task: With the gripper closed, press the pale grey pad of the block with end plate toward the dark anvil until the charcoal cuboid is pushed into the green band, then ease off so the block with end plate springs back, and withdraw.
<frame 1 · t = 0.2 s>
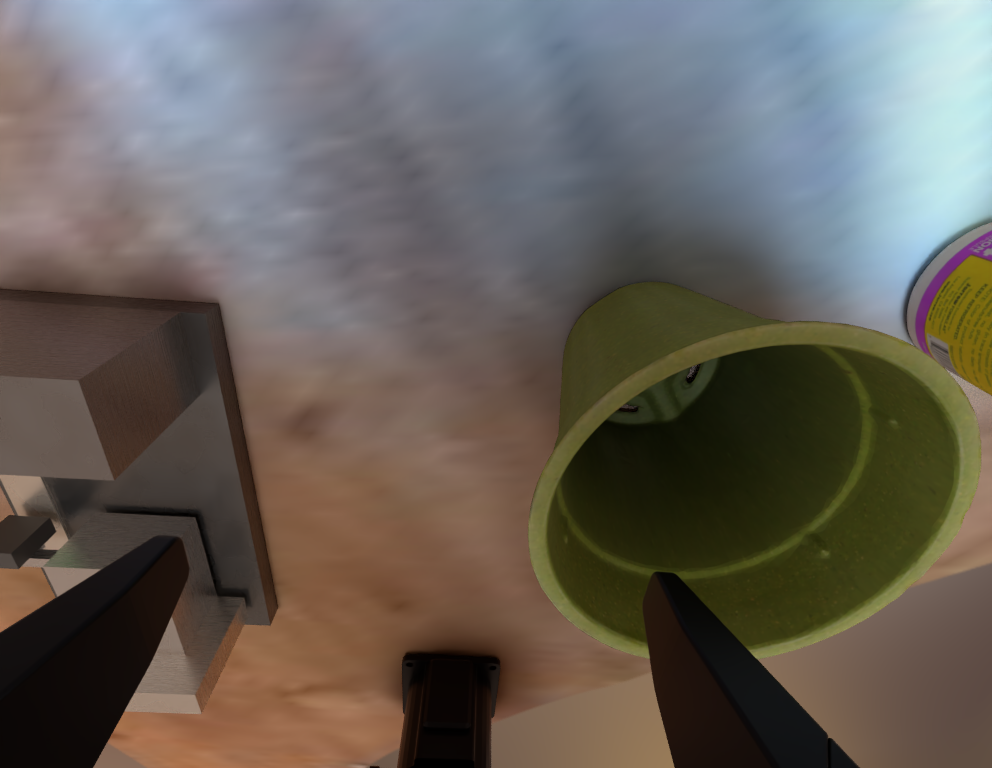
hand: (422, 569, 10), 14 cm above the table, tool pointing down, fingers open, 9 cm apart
supplement bottle: (974, 288, 23), on the table
plant pot: (640, 350, 24), on the table
charcoal cuboid: (13, 541, 25), point 3 cm above the table, slide at 0.0 cm
block with end plate: (112, 609, 26), point 4 cm above the table, slide at 0.0 cm
gauge bench: (137, 476, 27), on the table
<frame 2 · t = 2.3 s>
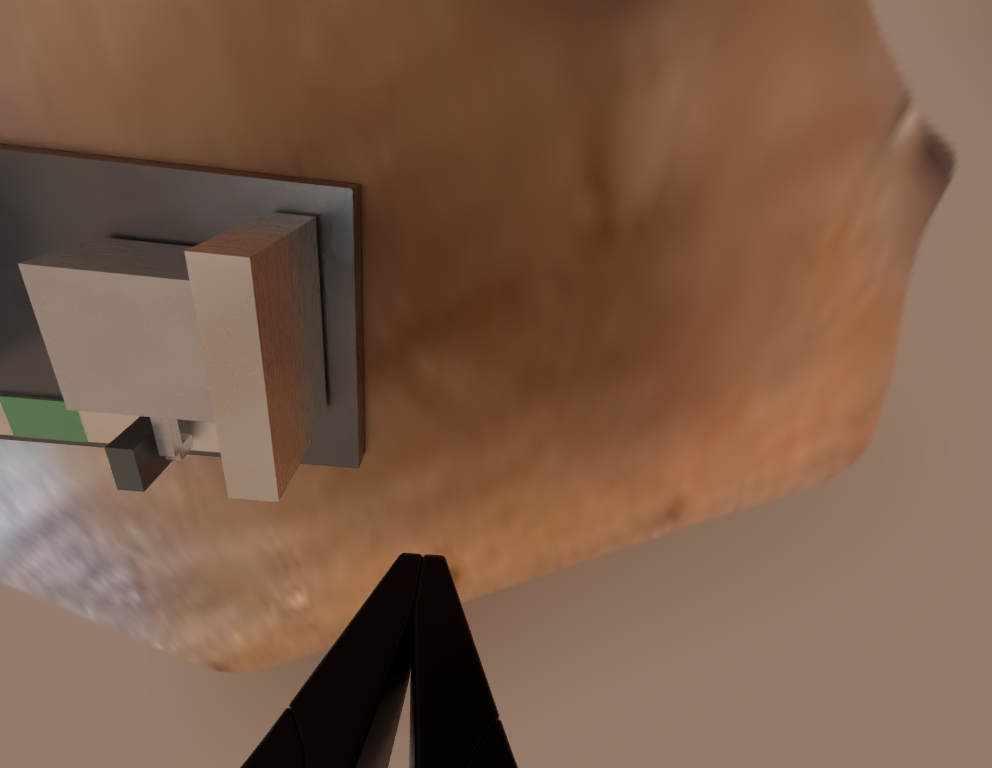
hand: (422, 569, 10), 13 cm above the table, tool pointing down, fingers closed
charcoal cuboid: (143, 451, 21), point 3 cm above the table, slide at 0.0 cm
block with end plate: (186, 369, 17), point 4 cm above the table, slide at 0.0 cm
gauge bench: (115, 312, 21), on the table
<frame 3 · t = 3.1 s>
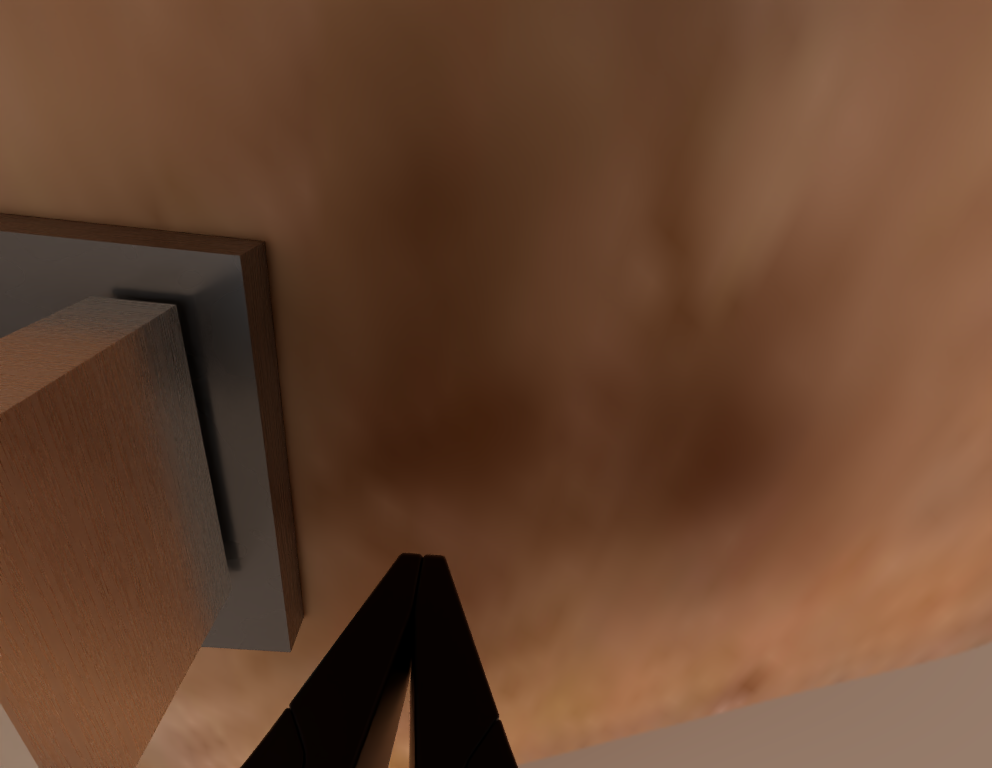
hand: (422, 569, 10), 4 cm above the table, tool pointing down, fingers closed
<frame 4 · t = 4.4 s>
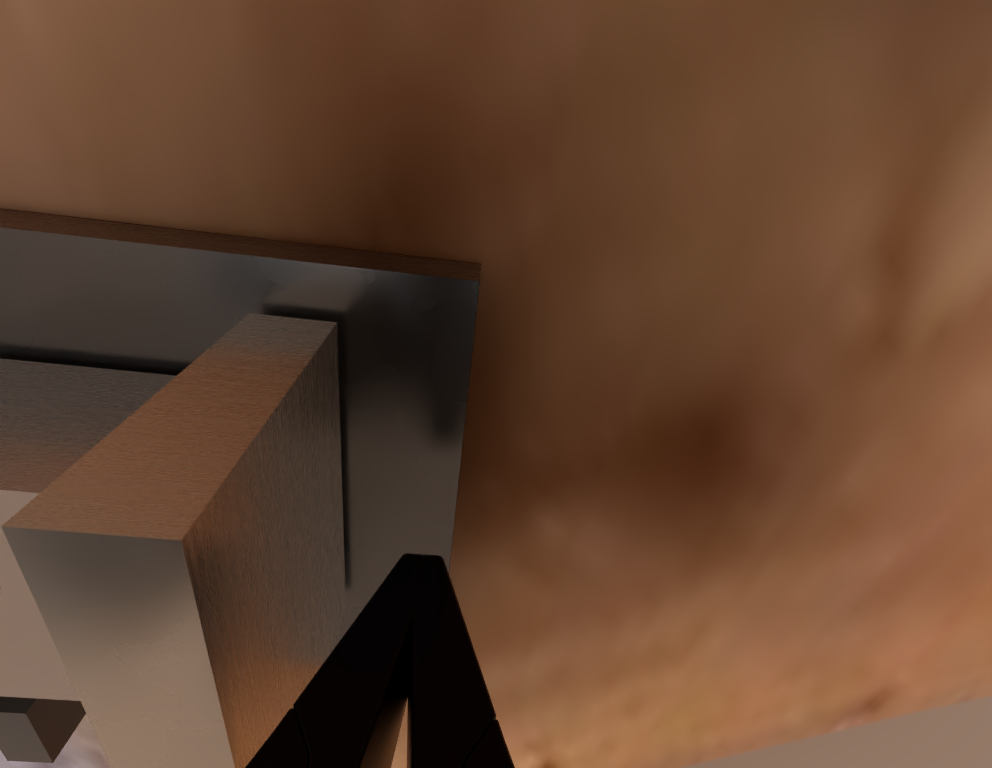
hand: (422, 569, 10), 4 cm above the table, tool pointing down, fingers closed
charcoal cuboid: (56, 684, 12), point 3 cm above the table, slide at 1.1 cm, touching block with end plate
block with end plate: (92, 609, 9), point 4 cm above the table, slide at 1.4 cm, touching charcoal cuboid, gripper
gauge bench: (58, 454, 13), on the table
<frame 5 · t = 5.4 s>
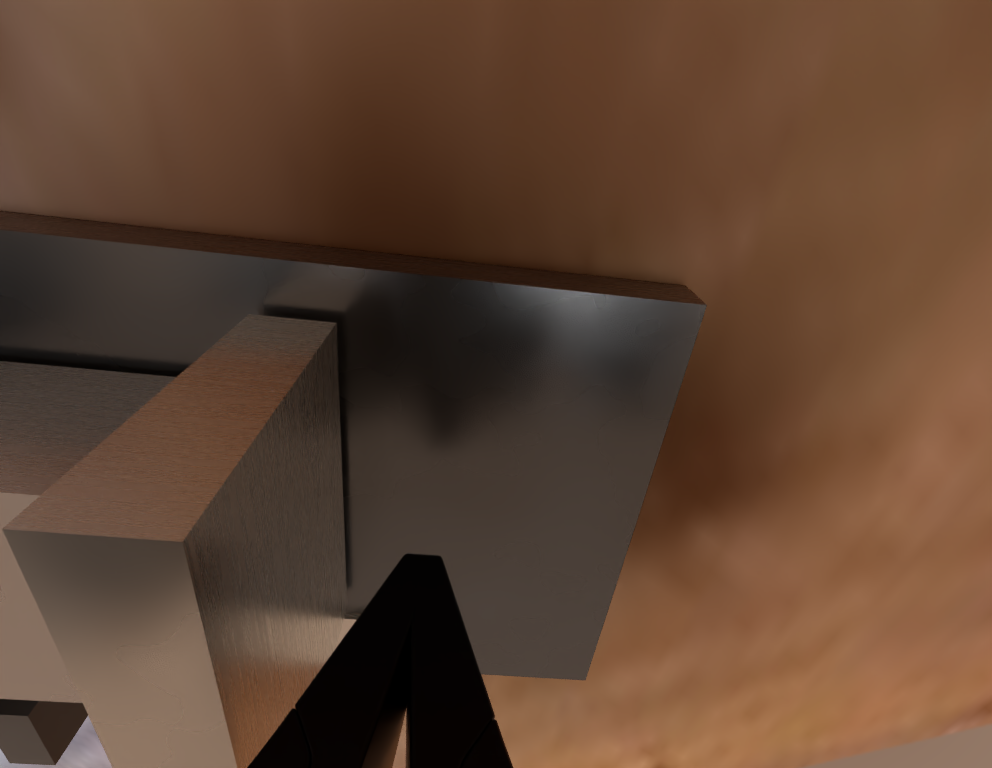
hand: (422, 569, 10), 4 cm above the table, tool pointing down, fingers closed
charcoal cuboid: (58, 686, 12), point 3 cm above the table, slide at 5.5 cm, touching block with end plate
block with end plate: (94, 611, 9), point 4 cm above the table, slide at 5.8 cm, touching charcoal cuboid, gripper
gauge bench: (239, 470, 13), on the table
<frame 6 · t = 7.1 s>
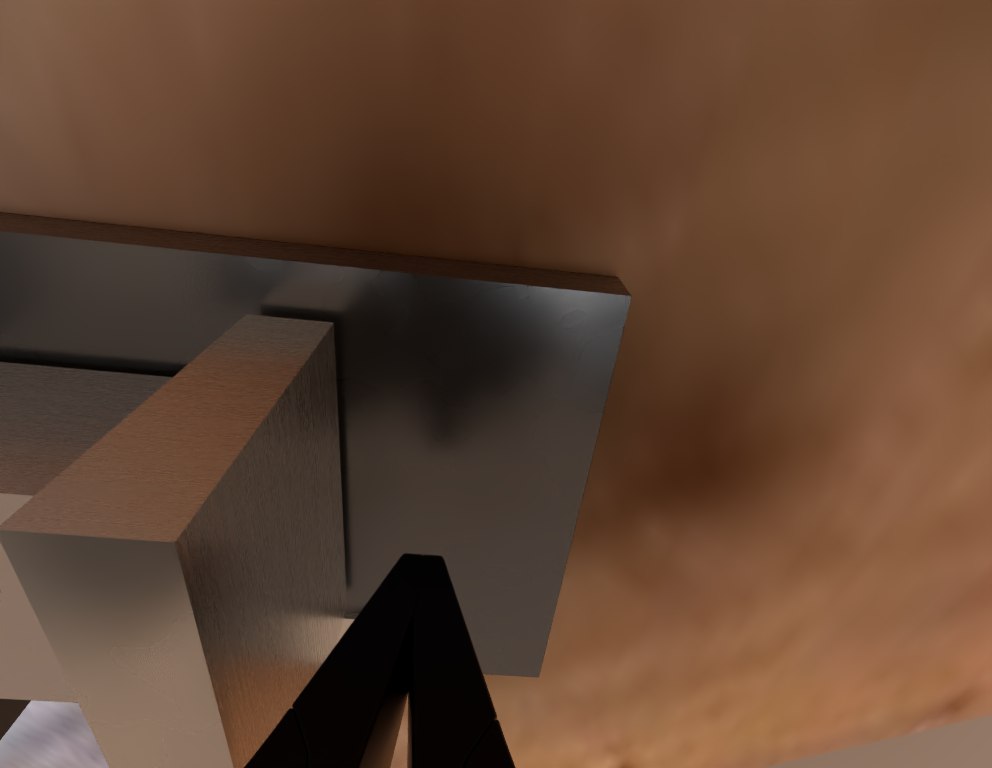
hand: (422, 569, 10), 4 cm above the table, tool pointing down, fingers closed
block with end plate: (93, 611, 9), point 4 cm above the table, slide at 4.3 cm, touching gripper
gauge bench: (180, 466, 13), on the table
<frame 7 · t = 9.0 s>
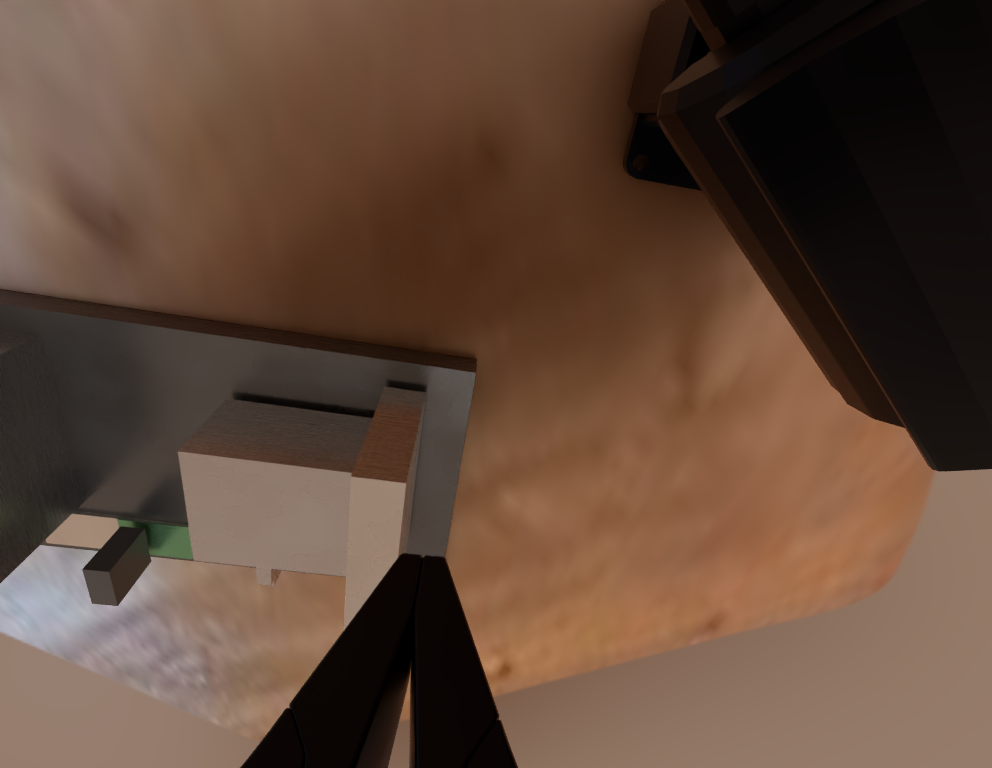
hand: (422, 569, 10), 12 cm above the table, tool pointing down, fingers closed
charcoal cuboid: (119, 565, 22), point 3 cm above the table, slide at 5.6 cm
block with end plate: (304, 526, 19), point 4 cm above the table, slide at 0.6 cm
gauge bench: (233, 447, 23), on the table
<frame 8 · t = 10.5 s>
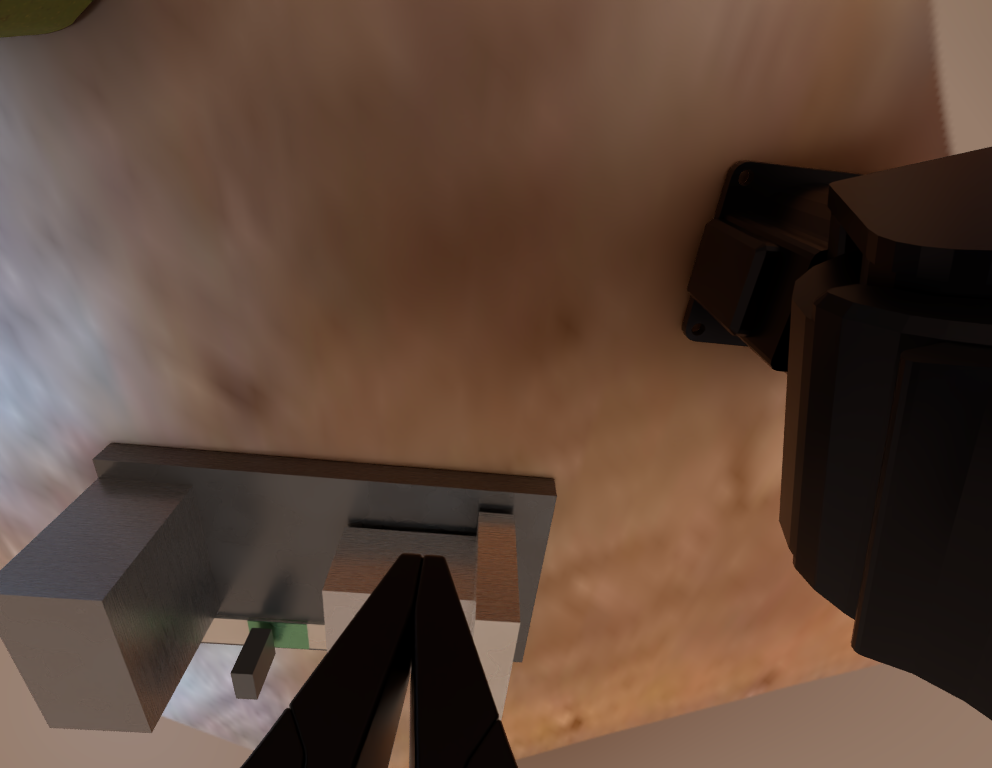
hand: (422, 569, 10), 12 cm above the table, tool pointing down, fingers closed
charcoal cuboid: (254, 662, 26), point 3 cm above the table, slide at 5.6 cm
block with end plate: (418, 635, 23), point 4 cm above the table, slide at 0.6 cm
gauge bench: (342, 555, 26), on the table
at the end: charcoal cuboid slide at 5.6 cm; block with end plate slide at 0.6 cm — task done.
